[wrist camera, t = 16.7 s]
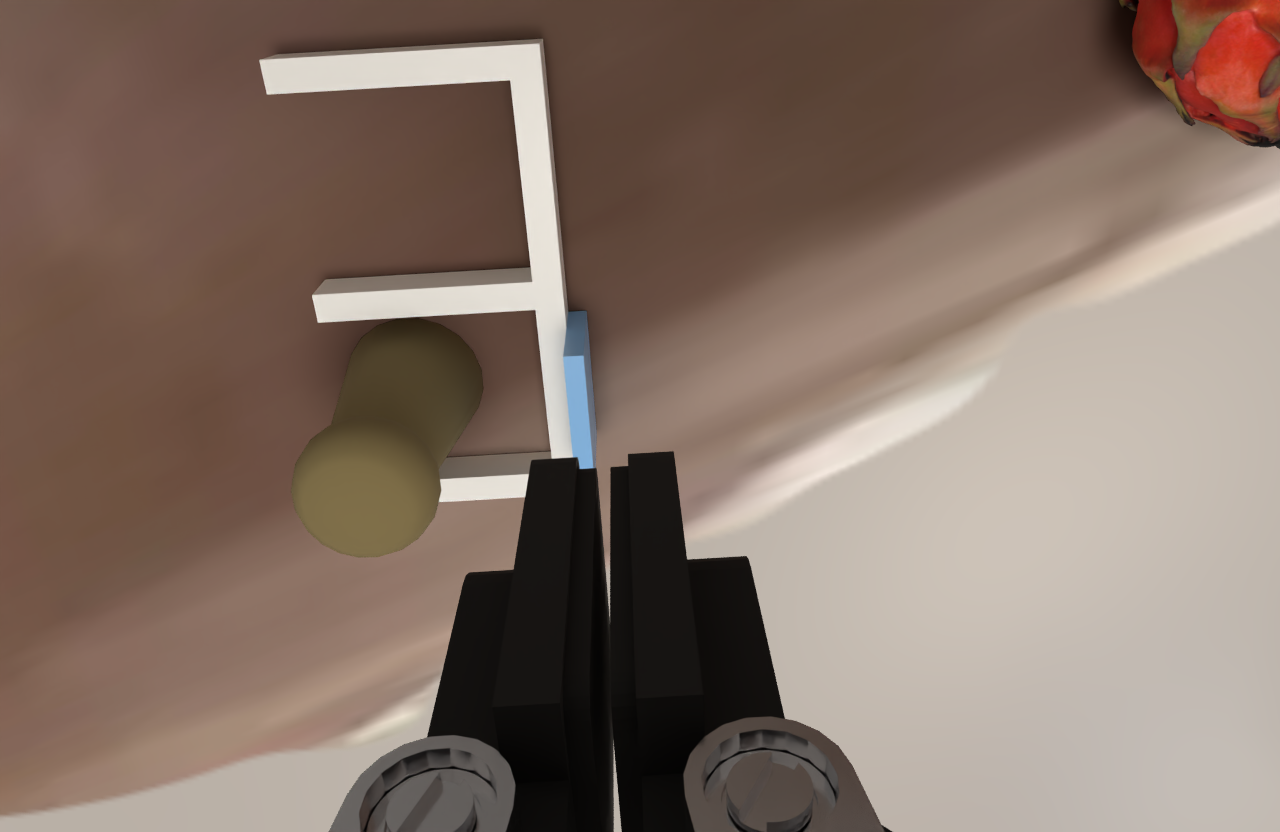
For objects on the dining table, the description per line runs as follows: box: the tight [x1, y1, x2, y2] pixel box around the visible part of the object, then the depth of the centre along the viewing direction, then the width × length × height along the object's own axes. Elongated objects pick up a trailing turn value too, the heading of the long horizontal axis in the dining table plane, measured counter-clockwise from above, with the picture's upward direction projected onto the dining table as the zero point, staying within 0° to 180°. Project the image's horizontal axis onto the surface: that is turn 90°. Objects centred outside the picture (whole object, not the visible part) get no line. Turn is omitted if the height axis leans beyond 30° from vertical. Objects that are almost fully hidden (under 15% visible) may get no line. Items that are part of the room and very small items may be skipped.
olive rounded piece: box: [291, 318, 483, 557], centre depth 37 cm, size 6×6×11 cm
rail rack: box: [259, 39, 597, 502], centre depth 38 cm, size 19×11×5 cm, turn 3°
